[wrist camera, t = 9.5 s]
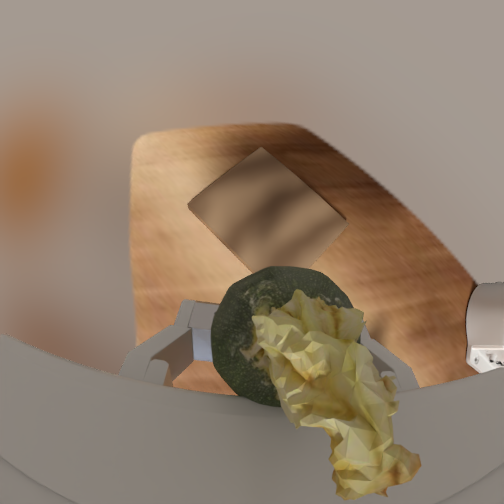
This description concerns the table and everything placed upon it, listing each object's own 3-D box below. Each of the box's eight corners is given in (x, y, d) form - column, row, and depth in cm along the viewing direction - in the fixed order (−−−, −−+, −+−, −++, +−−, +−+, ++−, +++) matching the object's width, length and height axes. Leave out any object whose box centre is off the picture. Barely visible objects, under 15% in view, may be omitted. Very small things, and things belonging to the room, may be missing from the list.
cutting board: (345, 227, 37) (349, 223, 36) (278, 298, 34) (280, 297, 32) (260, 152, 40) (261, 146, 38) (188, 208, 36) (187, 203, 35)
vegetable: (236, 297, 22) (281, 59, 2) (286, 318, 21) (537, 225, 2) (214, 347, 20) (73, 480, 1) (265, 368, 20) (458, 529, 1)
